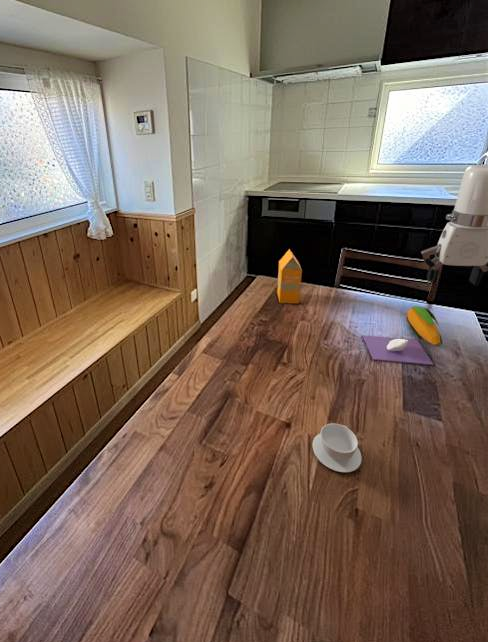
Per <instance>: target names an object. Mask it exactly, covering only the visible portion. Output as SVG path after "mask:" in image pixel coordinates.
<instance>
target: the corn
mask: <svg viewBox="0 0 488 642" xmlns="http://www.w3.org/2000/svg"><path fill="white" fill-rule="evenodd" d="M406 313H407V314H406V320H407V323H408V325H409V326H410V328H411V330H412V331H413V332H414V333H415V334H416V336H417V337H418V338H419V339H423V340H424V341H425V342H427V343H429V344H431V345H433V346H435V347H436V346H443V344H444V343H443V341H444V340H443V338H442V335H441V334H440V332H439V330H438V327H437V326H439V323H438V320H437V318H436V316H435V315H434V314H433V312H432V311H431V310H430V309H428V308H426V307H423V306H417V305H416V306H415V305H414V306H411V308H410V309H409V310H407V312H406Z"/></svg>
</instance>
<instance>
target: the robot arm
mask: <svg viewBox="0 0 488 642" xmlns="http://www.w3.org/2000/svg"><path fill="white" fill-rule="evenodd" d="M445 219H446V220H449V221H448V222H447V223H446V225H444V226H445V227H444V228H443V230H442V232H441V234H440V237H439V240H438V242H437V245H435V246H432V247H429V248H427V249H424V250H422V251H420V254H421V258H422V259H423V260H422V261H423V262H424V263H425V264H426V265H427V266H428V268H427V269H428V270H427V273H426V279H427V281H428V282H429V283H430V284H431V285H435V284H436V283H437V281H438V280H437V279H438V276H439V273H440V272H439V271H440V270H439V268H441V267H442V266H443V265H445V266H456V267H458V266H459V267H460V266H461V267H473V268H472V269H471V272H470V276H469V279H468V281H469V282H470V283H471V284H472V285H473V286H475V287H479V286H480V284H481V283H480V282H482V280H483V277H484V274H485V273H486V272H488V164H474V165H470V166H468V167H467V168H466V169H465V171H464V173H463V176H462V179H461V183H460V187H459V190H458V194H457V197H456V201H455V204H454V207H453V210H452V211H451V213H447V214H446V215H445ZM431 255H434V258H432V259H431V257H430V256H431Z"/></svg>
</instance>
